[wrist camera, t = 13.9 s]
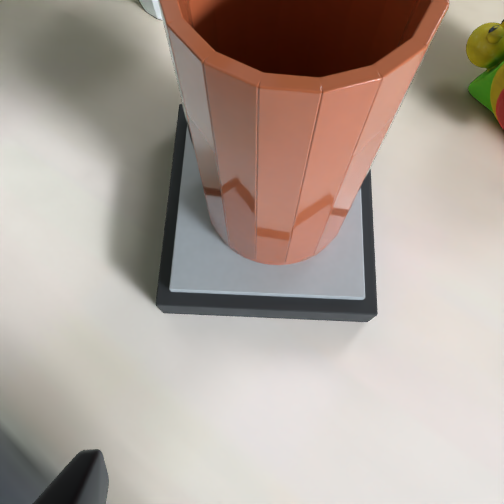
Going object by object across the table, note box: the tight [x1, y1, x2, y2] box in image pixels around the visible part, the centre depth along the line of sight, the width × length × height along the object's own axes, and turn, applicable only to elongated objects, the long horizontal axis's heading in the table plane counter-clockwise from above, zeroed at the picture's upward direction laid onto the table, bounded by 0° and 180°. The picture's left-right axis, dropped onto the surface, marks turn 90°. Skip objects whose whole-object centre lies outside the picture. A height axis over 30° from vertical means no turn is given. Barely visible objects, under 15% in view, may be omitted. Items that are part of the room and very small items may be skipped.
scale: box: [156, 104, 377, 322], centre depth 25 cm, size 12×11×2 cm
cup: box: [158, 0, 449, 265], centre depth 17 cm, size 7×7×13 cm
